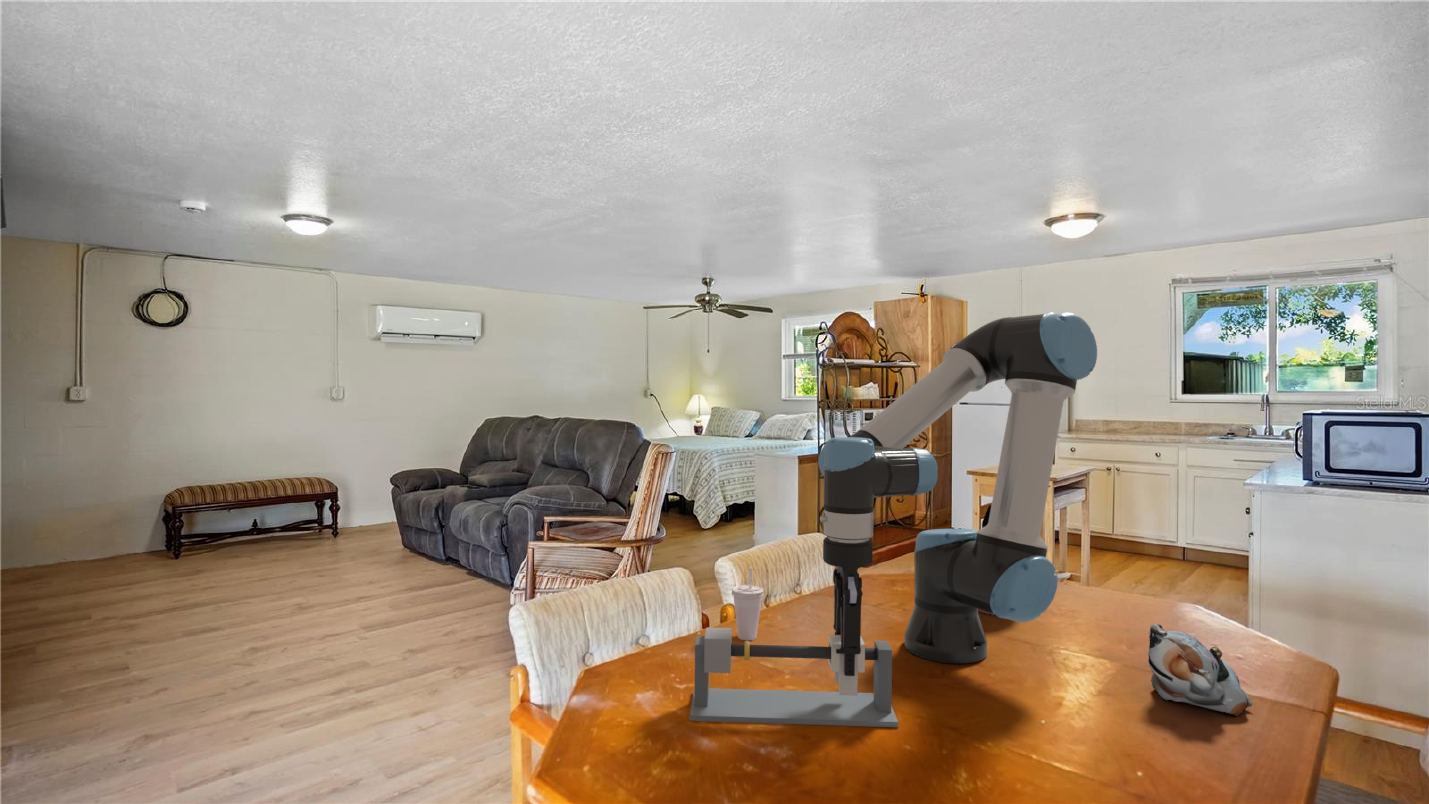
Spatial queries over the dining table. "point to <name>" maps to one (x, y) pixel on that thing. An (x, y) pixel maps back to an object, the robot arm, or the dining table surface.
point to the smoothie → (747, 608)
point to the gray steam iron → (1193, 673)
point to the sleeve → (834, 661)
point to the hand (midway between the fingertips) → (845, 687)
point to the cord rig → (781, 703)
